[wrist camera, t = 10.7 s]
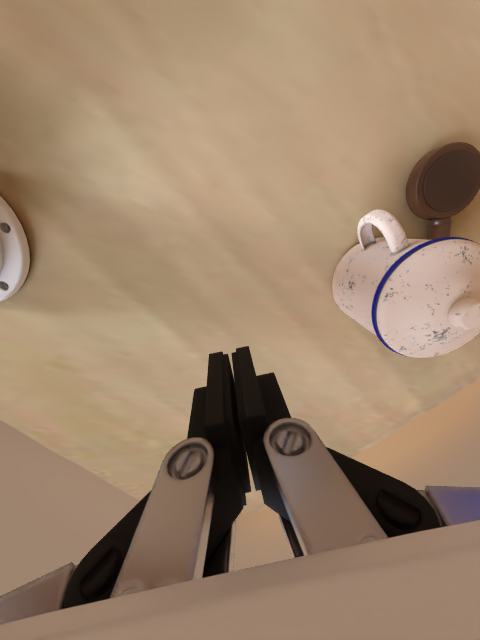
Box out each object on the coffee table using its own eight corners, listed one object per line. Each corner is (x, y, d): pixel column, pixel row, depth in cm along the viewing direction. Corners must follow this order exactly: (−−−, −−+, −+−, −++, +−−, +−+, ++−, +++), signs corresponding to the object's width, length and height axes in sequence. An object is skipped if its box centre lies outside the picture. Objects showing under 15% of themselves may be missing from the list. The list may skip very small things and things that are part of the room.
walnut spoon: (447, 341, 29) (459, 347, 27) (397, 350, 29) (406, 357, 27) (474, 140, 22) (492, 134, 20) (407, 154, 22) (420, 148, 20)
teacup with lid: (423, 291, 27) (560, 335, 16) (348, 334, 28) (425, 401, 17) (385, 187, 23) (531, 147, 12) (300, 242, 24) (360, 252, 13)
